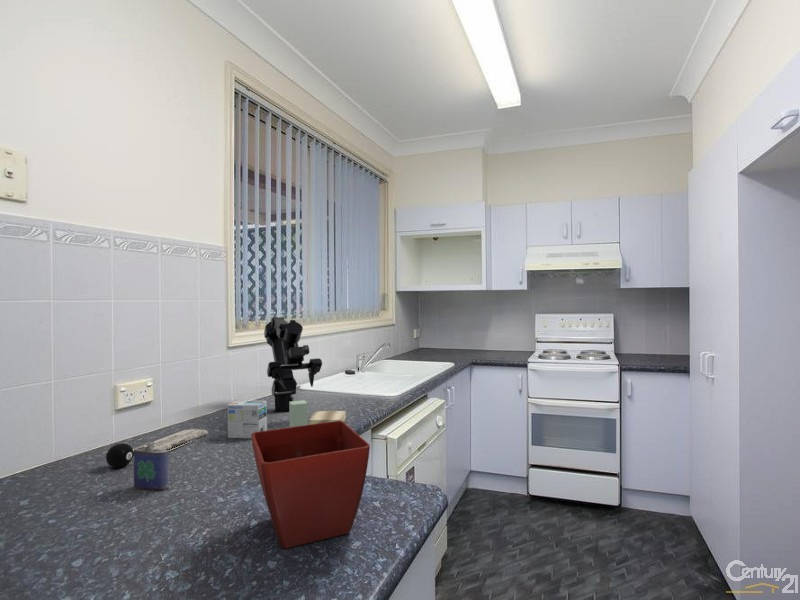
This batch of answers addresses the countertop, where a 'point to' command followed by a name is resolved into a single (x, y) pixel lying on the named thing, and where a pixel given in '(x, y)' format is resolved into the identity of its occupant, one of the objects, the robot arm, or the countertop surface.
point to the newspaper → (177, 439)
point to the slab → (327, 416)
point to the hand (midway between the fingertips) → (299, 387)
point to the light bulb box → (246, 418)
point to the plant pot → (311, 479)
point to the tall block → (298, 413)
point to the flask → (151, 468)
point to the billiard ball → (119, 455)
